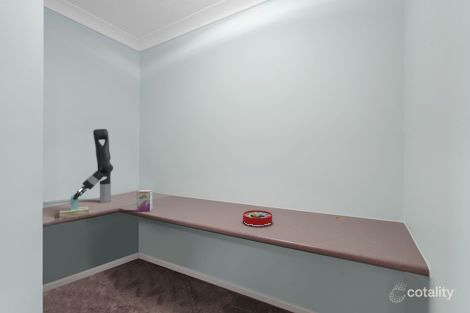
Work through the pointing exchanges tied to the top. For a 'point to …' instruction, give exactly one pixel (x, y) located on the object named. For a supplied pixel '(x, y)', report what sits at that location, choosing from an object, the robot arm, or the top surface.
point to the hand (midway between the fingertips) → (73, 198)
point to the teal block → (74, 203)
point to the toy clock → (257, 217)
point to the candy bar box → (144, 200)
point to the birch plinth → (74, 212)
